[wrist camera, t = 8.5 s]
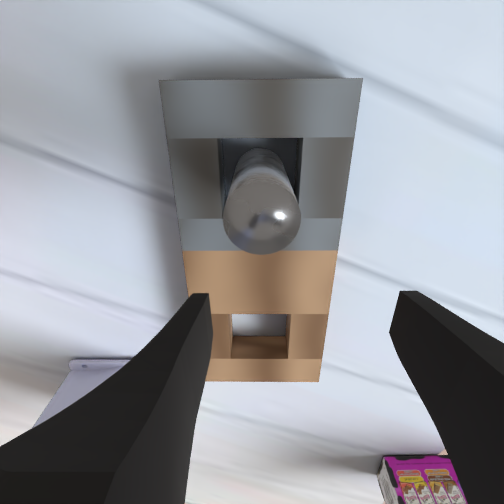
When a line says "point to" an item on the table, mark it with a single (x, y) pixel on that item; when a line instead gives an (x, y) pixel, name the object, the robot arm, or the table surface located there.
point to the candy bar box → (419, 480)
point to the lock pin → (261, 204)
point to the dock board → (307, 195)
